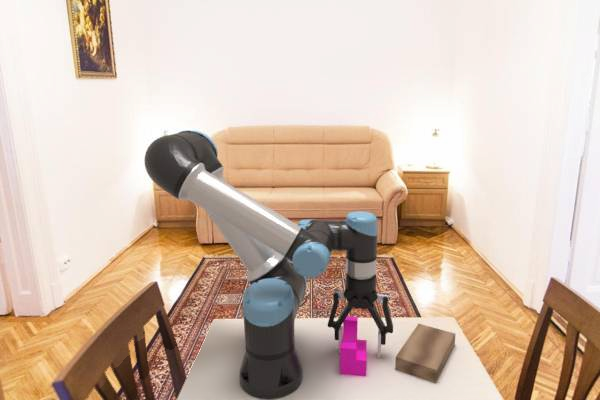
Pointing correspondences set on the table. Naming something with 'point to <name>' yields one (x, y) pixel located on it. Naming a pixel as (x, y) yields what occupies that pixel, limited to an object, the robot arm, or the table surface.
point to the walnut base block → (425, 352)
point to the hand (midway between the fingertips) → (359, 352)
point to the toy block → (352, 350)
